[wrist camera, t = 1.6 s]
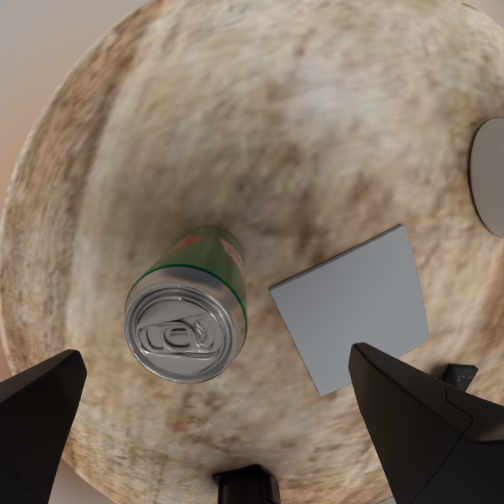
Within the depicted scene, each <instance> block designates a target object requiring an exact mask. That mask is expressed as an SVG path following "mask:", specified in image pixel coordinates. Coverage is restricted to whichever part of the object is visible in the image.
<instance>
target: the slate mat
mask: <svg viewBox="0 0 504 504" xmlns="http://www.w3.org/2000/svg"><path fill="white" fill-rule="evenodd" d="M269 291H270V293H271V295H272V297H273V299H274V301H275V303H276V305H277V307H278V310H279V312H280V314H281V316H282V318H283V320H284V322H285V324H286V326H287V328H288V330H289V332H290V334H291V336H292V338H293V341H294V343H295V345H296V347H297V349H298V351H299V353H300V355H301V357H302V359H303V361H304V363H305V365H306V367H307V369H308V371H309V374H310V376H311V378H312V380H313V382H314V384H315V386H316V388H317V390H318V392H319V394H320V396H321V397H322V396H324V395H326V394H329V393H331V392H333V391H335V390H337V389H340V388H342V387H344V386H346V385H348V384H350V383H352V381H351V377H350V374H349V370H348V363H349V357H350V351H351V346H352V345H353V344H354V343H360V342H365V343H367V344H369V345H371V346H373V347H375V348H377V349H379V350H381V351H383V352H385V353H387V354H389V355H391V356H393V357H395V358H399V357H401V356H403V355H404V354H406V353H408V352H409V351H411V350H413V349H414V348H416V347H417V346H419V345H421V344H422V343H424V342H425V341H427V340H429V339H430V337H429V330H428V324H427V318H426V312H425V307H424V302H423V297H422V292H421V287H420V283H419V278H418V274H417V270H416V265H415V261H414V258H413V254H412V250H411V246H410V243H409V239H408V235H407V232H406V229H405V225H402V224H400V225H398V226H396V227H394V228H392V229H390V230H389V231H387V232H385V233H383V234H381V235H379V236H377V237H375V238H373V239H371V240H369V241H367V242H365V243H363V244H361V245H359V246H357V247H355V248H353V249H351V250H349V251H347V252H345V253H343V254H341V255H339V256H337V257H335V258H333V259H330V260H328V261H326V262H324V263H322V264H320V265H318V266H316V267H314V268H312V269H310V270H308V271H305V272H303V273H301V274H299V275H297V276H295V277H293V278H291V279H288V280H286V281H284V282H282V283H280V284H278V285H275V286H273V287H271V288H269Z"/></svg>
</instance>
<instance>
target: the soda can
mask: <svg viewBox="0 0 504 504" xmlns="http://www.w3.org/2000/svg"><path fill="white" fill-rule="evenodd" d="M124 313H125V322H124V332H125V337H126V341H127V344H128V346H129V348H130V350H131V352H132V354H133V355H134V357H135V358H136V359H137V360H138V362H139V363H140V364H141V365H142V366H143V367H144V368H146V369H147V370H148V371H150V372H151V373H153V374H154V375H156V376H158V377H160V378H162V379H165V380H168V381H171V382H175V383H182V384H193V383H200V382H204V381H207V380H210V379H212V378H214V377H216V376H217V375H219V374H220V373H222V372H223V371H224V370H225V369H226V368H227V367H228V366H229V364H230V363H231V362H232V361H233V360H234V359H235V358H236V356H237V355H238V354H239V353H240V351H241V349H242V347H243V345H244V342H245V339H246V335H247V309H246V290H245V270H244V256H243V251H242V248H241V246H240V244H239V243H238V241H237V240H236V239H235V238H234V237H233V236H232V235H231V234H230V233H228V232H227V231H225V230H223V229H221V228H217V227H211V226H206V227H200V228H197V229H194V230H192V231H191V232H189V233H188V234H186V235H185V236H184V237H183V238H182V239H181V240H180V241H179V242H178V243H176V244H175V245H174V246H173V247H172V248H171V249H170V250H169V251H168V252H167V253H166V254H165V255H163V256H162V257H161V258H160V259H159V260H158V261H157V262H156V263H155V264H154V265H153V266H152V267H151V268H150V269H149V270H148V271H147V272H146V273H144V274H143V275H142V276H141V277H140V278H139V279H138V280H137V282H136V283H135V284H134V285H133V287H132V288H131V290H130V292H129V294H128V297H127V300H126V303H125V311H124Z"/></svg>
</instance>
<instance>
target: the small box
mask: <svg viewBox="0 0 504 504" xmlns="http://www.w3.org/2000/svg"><path fill="white" fill-rule="evenodd" d="M378 504H396V502H395V499H394V496H393V497H391V498H389V499H387V500H385V501H383V502H380V503H378Z"/></svg>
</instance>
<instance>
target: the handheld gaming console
mask: <svg viewBox="0 0 504 504" xmlns="http://www.w3.org/2000/svg"><path fill="white" fill-rule="evenodd" d="M477 371H478V368H477V367H475V366H469V365H458V364H449V365H448V367H447V369H446V370H445V372H444V374H443V376H442V378H441V379H440V380H441V381H443V382H445V384H446V383H447V384H449V385H451V386H453V387H455V388H457V389H460V390H462V391H464V392H465V391H466V390H467V388H468V386H469V385H470V383H471V381H472V380H473V378H474V376H475V375H476V373H477Z"/></svg>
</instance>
